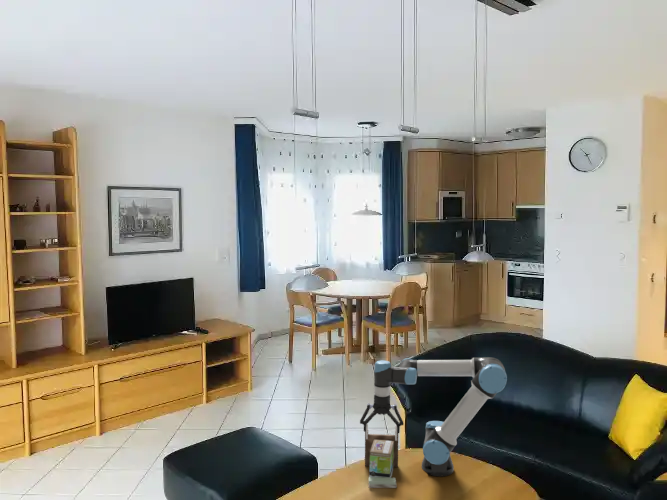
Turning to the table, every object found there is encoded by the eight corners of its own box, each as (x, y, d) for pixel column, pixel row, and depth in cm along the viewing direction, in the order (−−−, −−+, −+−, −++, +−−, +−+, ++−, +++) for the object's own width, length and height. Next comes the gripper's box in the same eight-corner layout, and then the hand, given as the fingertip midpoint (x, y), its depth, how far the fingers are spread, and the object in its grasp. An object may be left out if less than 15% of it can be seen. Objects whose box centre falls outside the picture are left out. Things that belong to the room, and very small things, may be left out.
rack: (397, 466, 270) (398, 430, 269) (397, 468, 268) (398, 432, 267) (364, 465, 271) (365, 429, 270) (364, 467, 269) (365, 431, 268)
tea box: (390, 485, 252) (390, 453, 251) (368, 482, 254) (368, 451, 253) (393, 470, 266) (394, 440, 266) (372, 468, 269) (373, 438, 268)
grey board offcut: (395, 484, 251) (396, 480, 251) (396, 487, 247) (396, 484, 247) (369, 483, 251) (369, 480, 251) (369, 487, 248) (369, 484, 248)
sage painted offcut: (395, 480, 251) (395, 477, 251) (395, 484, 247) (395, 481, 247) (368, 480, 251) (368, 477, 251) (368, 484, 248) (368, 480, 248)
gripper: (408, 392, 260) (407, 436, 262) (355, 390, 262) (355, 434, 264) (409, 398, 253) (408, 443, 254) (354, 396, 255) (354, 440, 256)
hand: (381, 438), depth 259 cm, fingers open, 13 cm apart
